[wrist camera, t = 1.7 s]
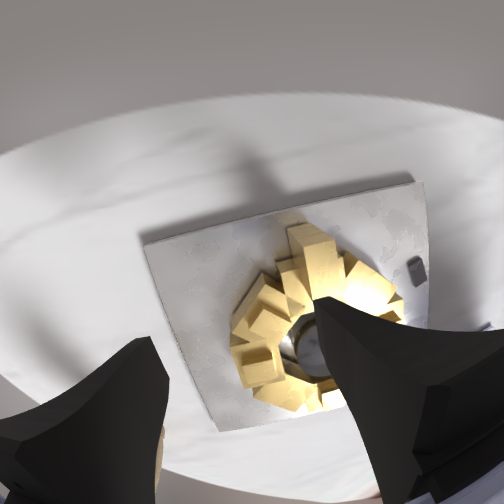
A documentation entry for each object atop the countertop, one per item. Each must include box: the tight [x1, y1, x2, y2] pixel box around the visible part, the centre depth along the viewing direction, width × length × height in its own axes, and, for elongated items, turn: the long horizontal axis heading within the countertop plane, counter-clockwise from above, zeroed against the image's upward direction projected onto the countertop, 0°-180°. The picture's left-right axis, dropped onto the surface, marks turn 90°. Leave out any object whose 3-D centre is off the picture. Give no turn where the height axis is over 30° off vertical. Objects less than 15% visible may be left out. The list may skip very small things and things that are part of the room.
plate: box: [143, 181, 429, 432], centre depth 20 cm, size 18×20×4 cm
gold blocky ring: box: [230, 223, 403, 413], centre depth 18 cm, size 14×12×5 cm
